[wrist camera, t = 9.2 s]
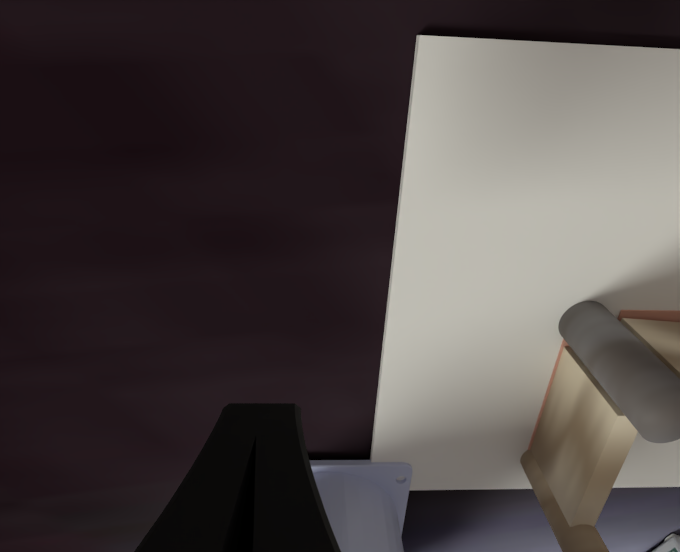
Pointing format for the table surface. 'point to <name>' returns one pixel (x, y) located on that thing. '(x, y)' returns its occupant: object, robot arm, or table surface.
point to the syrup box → (669, 544)
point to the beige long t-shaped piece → (658, 339)
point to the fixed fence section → (596, 421)
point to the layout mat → (522, 244)
